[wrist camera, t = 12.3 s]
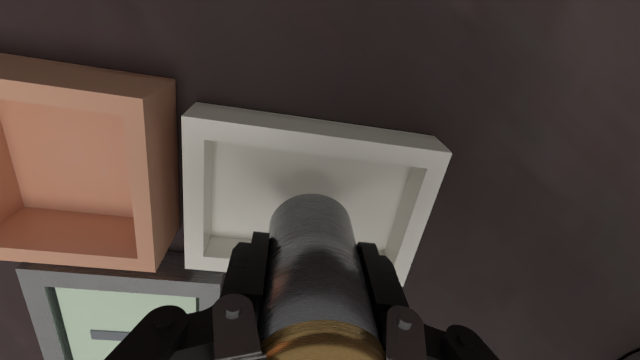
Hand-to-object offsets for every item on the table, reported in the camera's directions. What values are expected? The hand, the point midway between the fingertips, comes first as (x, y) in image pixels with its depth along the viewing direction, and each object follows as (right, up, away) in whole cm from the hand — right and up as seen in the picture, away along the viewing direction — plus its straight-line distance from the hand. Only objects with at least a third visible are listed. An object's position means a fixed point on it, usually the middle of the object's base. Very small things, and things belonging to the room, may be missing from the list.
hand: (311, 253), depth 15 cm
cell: (0, +1, +2) cm, 2 cm away
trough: (0, +3, +5) cm, 6 cm away
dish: (-12, +5, +3) cm, 13 cm away
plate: (-12, -6, +8) cm, 16 cm away
